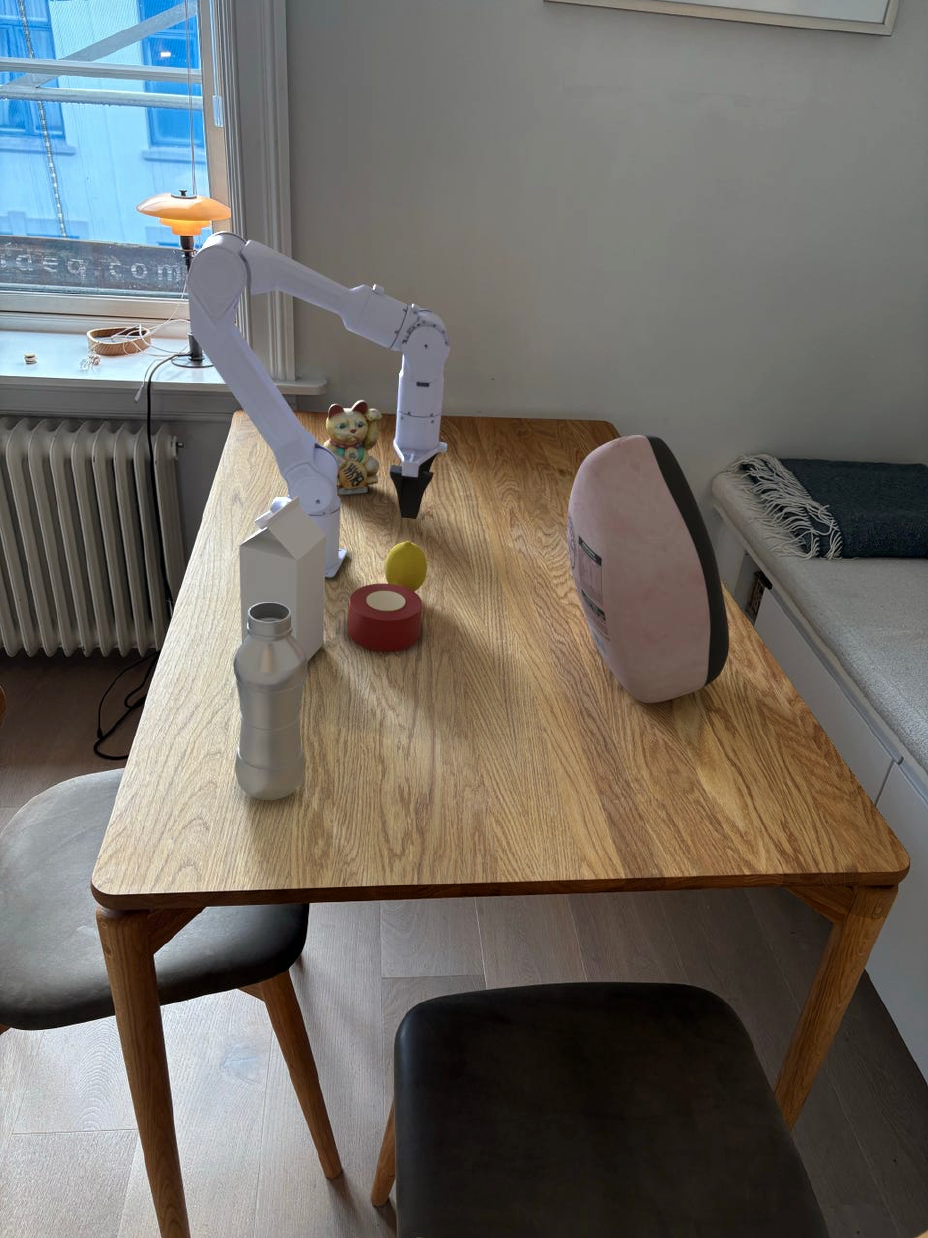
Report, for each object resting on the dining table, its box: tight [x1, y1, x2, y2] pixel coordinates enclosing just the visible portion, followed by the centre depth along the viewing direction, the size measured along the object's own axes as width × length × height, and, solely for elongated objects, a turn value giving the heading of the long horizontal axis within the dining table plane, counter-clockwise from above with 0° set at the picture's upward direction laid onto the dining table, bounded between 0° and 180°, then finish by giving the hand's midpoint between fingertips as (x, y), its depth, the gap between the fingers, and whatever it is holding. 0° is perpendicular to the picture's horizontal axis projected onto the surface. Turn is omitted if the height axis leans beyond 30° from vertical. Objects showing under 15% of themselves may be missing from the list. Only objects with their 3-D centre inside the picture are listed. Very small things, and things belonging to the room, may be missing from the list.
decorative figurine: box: [322, 399, 383, 495], centre depth 152 cm, size 10×8×15 cm
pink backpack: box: [566, 434, 730, 704], centre depth 109 cm, size 22×20×30 cm
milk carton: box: [238, 496, 326, 662], centre depth 108 cm, size 7×7×19 cm
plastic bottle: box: [232, 602, 309, 801], centre depth 88 cm, size 6×7×20 cm
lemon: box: [384, 540, 428, 593], centre depth 126 cm, size 6×6×8 cm
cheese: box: [347, 582, 423, 653], centre depth 118 cm, size 9×9×5 cm
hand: (412, 505), depth 130 cm, fingers open, 7 cm apart
